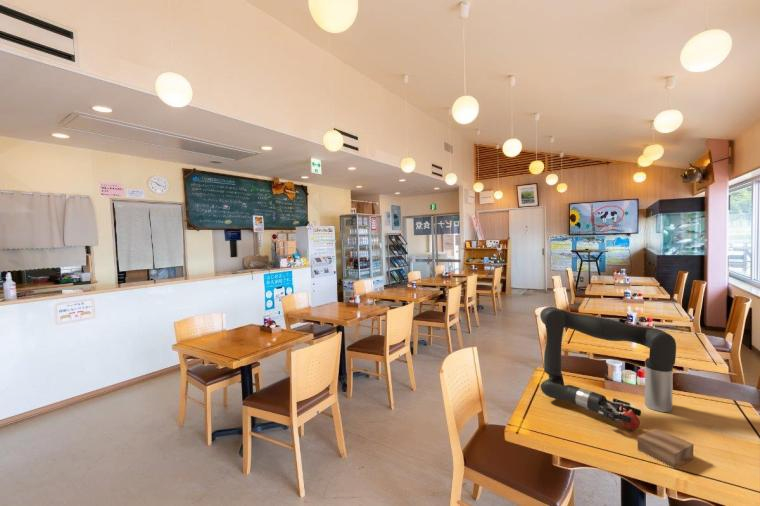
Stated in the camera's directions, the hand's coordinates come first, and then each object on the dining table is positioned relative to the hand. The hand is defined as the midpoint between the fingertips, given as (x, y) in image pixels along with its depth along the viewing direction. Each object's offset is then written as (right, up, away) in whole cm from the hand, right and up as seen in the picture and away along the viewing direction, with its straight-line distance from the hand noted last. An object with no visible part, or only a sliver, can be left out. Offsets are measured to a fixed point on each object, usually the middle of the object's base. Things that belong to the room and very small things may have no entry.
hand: (636, 416), depth 133 cm
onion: (-1, -6, +2) cm, 6 cm away
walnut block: (0, -7, -13) cm, 15 cm away
